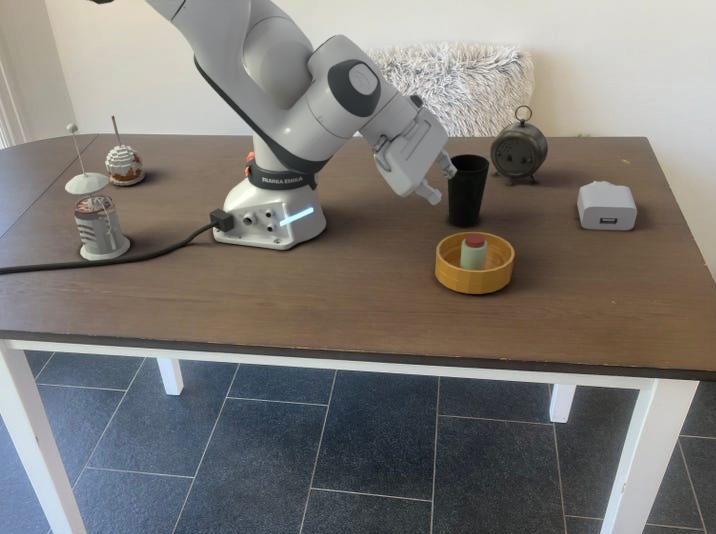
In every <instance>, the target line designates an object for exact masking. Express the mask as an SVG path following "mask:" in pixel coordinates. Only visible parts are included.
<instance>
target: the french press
mask: <svg viewBox="0 0 716 534" xmlns="http://www.w3.org/2000/svg"><path fill="white" fill-rule="evenodd" d="M78 128H79V127H78V126H77V125H76V124H75V123H69V124H67V125H66V132H67V133H70V134H71V133H72V136H73V140H74V144H75V148H76V150H77V151H76V152H77V154H78V157H79V161H80V166H81V169H82V172H83V173H81V174H78V175H74V177H72V178H71V179H70V180H69V181H68V182H67V183H66V184H65V187H64V190H65V191H66V192H67V193H68V194H69V195H73V196H79V197H80V196H82V198H80V199H78V200H77V201H75V203H74V204H73V209H74V214H73V215H74V220H75V222H76V225H78V226H77V229H78V231H80V232H79V235H80V237H81V242H82V243H83V244H82V247H80V252H79V253H80V255H81V257H82V258H83V259H86V260H87V261H91V260H101V259H110V258H119V257H120V256H122V255H123V254H125V253H126V252H127V251H128V250H129V249H130V246H131V243H130V242H131V241H130V240H129V239H128V238H127V237H125V236H124V234H123V231H122V228H121V224H120V219H119V215H118V212H117V209H116V205H115V203H113V198H111V196H109V195H107V194H99V193H100V192H102V191H104V190H105V189H106V187H107V186H108V185H109V183H110V179H109V177H108V176H107V175H106V174H102V173H99V172H86V171H85V167H84V164H83V160H82V156H81V153H80V150H79V147H78V143H77V139H76V136H75V133H76V132H77V131H78V130H79V129H78ZM97 193H98V194H97ZM83 196H84V197H83ZM110 210H113V211H111V212H108V211H110ZM101 212H105V213H101ZM105 218H107V219H105ZM107 224H108V225H107ZM108 229H109V230H108Z"/></svg>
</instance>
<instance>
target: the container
mask: <svg viewBox="0 0 716 534" xmlns="http://www.w3.org/2000/svg"><path fill="white" fill-rule="evenodd" d="M486 252H487V242H486V241H485V237H484V236H483V235H481V234H476V233H473V234H469V235H467V236H466V238H465V239H464V240H463V241H462V249H461V260H460V268H462V269H467V270H484V269H485V260H486Z"/></svg>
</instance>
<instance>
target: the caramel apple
mask: <svg viewBox="0 0 716 534" xmlns="http://www.w3.org/2000/svg"><path fill="white" fill-rule="evenodd" d="M110 116H111V121H112V126H113V129H114V134H115V137H116V142H117V146H114V147H113V149H110V150H109V152H108V153H107V155H106V160H105V161H104V163H105V166H106V170H107V173H108V175H110V176H109V177H108V178H109V182H110V183H111V184H114V185H116V186H130V185H134V184H135V185H136V184H137V183H139V182H141V181H142V180H143V179H144V177H145V176H146V173H145V172H144V170H143V167H142V166H143V160H142V157H141V155H140V154H138V151H137V150H134V148H133V147H131V146H130V145H128V146H126V145H125V144H122V142H121V139H120V135H119V131H118V126H117V122H116V117H115V114H112V115H110Z"/></svg>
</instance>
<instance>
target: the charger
mask: <svg viewBox="0 0 716 534" xmlns="http://www.w3.org/2000/svg"><path fill="white" fill-rule="evenodd" d="M576 203H577V211H578V215H579V219H580V220H579V221H580V225H581V227H582V228H583V229H586V230H600V231H601V230H602V231H603V230H604V231H629V230H632V229H633V228H634V227H635V223H636V219H637V215H638V209H637V205H636V203H635V200H634V197H633V193H632V190H631V188H630V187H628V186H626V185H615V184H613V183H611V182H609V181H606V180H602V181H597V180H594V181H593V182H591V183H588V184H586V185H583V186H580V188H579V191H578V195H577V201H576Z"/></svg>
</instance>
